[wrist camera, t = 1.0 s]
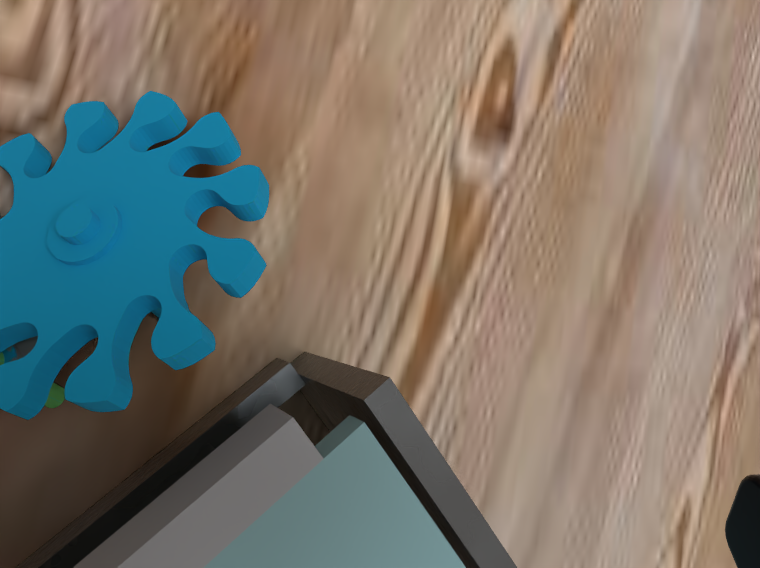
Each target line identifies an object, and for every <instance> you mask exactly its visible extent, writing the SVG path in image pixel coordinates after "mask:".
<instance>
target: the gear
mask: <svg viewBox="0 0 760 568" xmlns="http://www.w3.org/2000/svg"><path fill="white" fill-rule="evenodd" d="M64 120H65V124H66V127H67V138H66V143H65V146H64V149H63V151H62V153H61V155H60V157H59V159H58V160H57V162H56V164H55V165H54V167H53V168H52V170H51V171H50V172H48V173H47V174H46V172H47V171H48V169H49V167H50V165H51V162H52V157H51V154H50V153H49V151H48V150H47V149H46V148H45V147H44V146H43V145H42V144H41V143H40V142H39V141H38V140H37V139H36V138H35V137H34V136H33V135H31V134H30V133H28V134H24V135H21V136H19V137H17V138H14V139H12V140H11V141H9V142H7V143H5V144H4V145H2V146H0V166H1V167H2V168H3V169H4V170H6V171H7V172H8V173H9V174H10V175H11V177H12V180H13V184H14V201H13V206H12V208H11V210H10V211H9V212H8V213H7V214H6V215H5V216H4V217H3V218H1V219H0V409H2V410H4V411H6V412H9V413H11V414H14V415H16V416H19V417H21V418H24V419H26V420H29V419H31V418H33V417H34V416H35V415H37V414H38V413H39V412H40V411H41V409H42V408H43V407H44V406H46V407H48V408H56V407H58V406H59V405H61V404H62V402H63V401H64V399H66V400H68V401H70V402H72V403H74V404H76V405H78V406H80V407H83V408H85V409H87V410H90V411H95V412H112V411H119V410H125V408H126V407H127V406H128V404H129V402H130V400H131V398H132V393H133V384H132V381H131V378H130V374H129V353H130V349H131V345H132V342H133V339H134V337H135V334H136V332H137V330H138V328H139V326H140V324H141V322H142V320H143V318H144V317H145V316H146V315H147V314H148V313H150V312H152V313H153V314H154V315H156V316H157V317H158V318H159V321H158V323H157V325H156V327H155V329H154V332H153V335H152V339H151V346H152V350H153V352H154V354H155V355H156V356H157V357H158V358H159V359H161V360H162V361H163V362H165V363H166V364H168V365H169V366H170V367H172V368H173V369H174V370H179V369H183V368H186V367H188V366H190V365H193V364H195V363H196V362H198V361H200V360H201V359H203V358H204V357H206V356H207V355H209V354H210V353H211V352H213V351H214V350H215V345H216V343H215V337H214V335H213V333H212V332H211V331H210V330H209V329H208V328H207V327H206V326H205V325H204V324H203V323H202V322H201V321H200V320H199V319H198V318H197V317H196V316H194V315H193V314H191V312H190V311H189V309H188V304H187V302H186V301H185V296H184V288H183V275H184V273H185V271H186V269H187V268H188V267H189V266H190V265H191V264H192V263H194V262H196V261H198V260H201V259H207V262H208V269H209V273H210V274H211V276H212V277H213V279H214V280H215V281H216V282H217V283H218V284H219V285H220V287H221V288H222V289H223V290H224V291H225V292H226V293H227V294H229V295H230V296H233V297H239V298H242V297H243V296H244V295H245V294H246V293H248V292H249V291H250V290H251V288H252V287H253V286H254V285H255V284H256V282H257V281H258V279H259V278H260V276H261V274H262V273H263V271H264V269H265V267H266V266H267V265H266V263H265V261H264V260H263V258H262V257H261V255H260V254H259V252H258V251H257V249H256V248H255V247H254V245H253V244H252V243H251V242H249V241H247V240H245V239H240V238H234V239H227V238H219V237H216V236H212V235H209V234H207V233H205V232H204V231H202V230H201V229H199V228H198V227H197V222H198V219H199V217H200V215H201V214H202V213H203V212H204V211H205V210H207V209H209V208H211V207H214V206H223V207H226V208H227V209H229V210H230V211H231V212H232V213H233V214H234V215H235V216H236V217H237V218H239V219H241V220H243V221H256V220H259V219H261V218H263V217H264V215H265V213H266V211H267V207H268V202H269V184H268V182H267V180H266V179H265V177H264V175H263V173H262V171H261V170H260V168H259V167H257V166H253V165H243V166H240V167H237V168H235V169H233V170H231V171H229V172H227V173H224V174H221V175H218V176H214V177H209V178H190V177H184V176H183V175H184V173H185V172H186V171H187V170H188V169H189V168H190V167H192V166H194V165H197V164H210V165H218V166H221V165H226V164H229V163H231V162H233V161H235V160H236V159H237V158H239V156H240V155H241V149H240V146H239V143H238V141H237V140H236V138H235V136H234V134H233V133H232V131H231V129H230V127H229V126H228V124H227V122H226V121H225V119H224V118H223V117H222V115H221V114H220V113H219V112H214V113H210V114H207V115H206V116H204V117H202V118H201V119H200V120H198V122H197V123H196V124H195V125H194V126H193V127H192V128H191V129H190V130H189V131H188V132H187V133H186V134H184V135H183V136H181V137H180V138H178V139H177V140H175V141H173V142H171V143H169V144H167V145H164V146H162V147H159V148H156V149H152V150H149V151H147V149H148V148H149V147H150V146H152V145H154V144H156V143H158V142H161V141H165V140H168V139H171V138H173V137H175V136H177V135H178V134H179V133H181V132H182V131H183V129H184V128H185V126H186V124H187V120H186V118H185V116H184V115H183V113H182V112H181V110H180V109H179V107H178V106H177V104H176V103H175V102H174V101H173V100H172V99H171V98H169V97H168V96H166V95H163V94H160V93H157V92H153V91H150V92H148V93H146V94H145V95H143V96H142V97H141V98H140V99H139V101H138V102H137V104H136V106H135V110H134V113H133V115H132V117H131V119H130V121H129V122H128V124H127V125H126V127H125V128H124V129H123V130H122V131H121V132H120V134H119V135H117V136H116V137H115V138H114V139H113V140H112V141H110V140H111V139H112V138H113V137H114V135H115V134H116V132H117V130H118V127H119V123H118V120H117V119H116V117H115V116H114V115H113V114H112V112H111V111H110V110H109V109H108V107H107V106H106V105H105V104H104V102H98V101H90V102H82V103H77V104H73V105H71V106H70V107H69V108H68V110H67V112H66V114H65V117H64ZM108 141H110V142H109V143H108V144H107V145H105V146H104V147H103V148H101V147H102V146H103V145H104V144H106V143H107V142H108ZM99 148H101V149H100V150H98V149H99ZM97 150H98V151H97ZM45 174H46V175H45ZM96 337H98V344H97V347H96V349H95V350H94V352H93V353H92V354H91V355H90V356H89V357H88V358H87V359H86V360H85V361H84V362H83V363H81V364H80V365H79V366H78V367H77V368H76V369H75V370H74V371H73V372H72V373H71V375H70V376H69V378H68V380H67V382H66V385H65V389H64V388H63V387H61V386H59V385H57V384H55V383H53V382H54V380H55V378H56V376H57V375H58V373H59V371H60V370H61V368H62V367H63V366H64V365H65V363H66V362H67V361H68V360H69V359H70V358H71V357H72V356H73V355H74V354H75V353H76V352H77V351H78V350H79V349H81V348H82V347H83V346H84V345H85V344H86V343H88V342H89V341H90V340H92V339H94V338H96Z"/></svg>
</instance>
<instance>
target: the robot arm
mask: <svg viewBox="0 0 760 568" xmlns="http://www.w3.org/2000/svg"><path fill="white" fill-rule="evenodd" d="M725 533H726V539H727V543H728V546H729V548H730V551H731V553H732V555H733V558H734V560H735V563H736V565H737V567H738V568H760V475H749V476H746V477H745V478H744V479H743V480H742V481H741V483H740V485H739V488H738V491H737V493H736V496H735V499H734V501H733V504H732V507H731V510H730V512H729V515H728V518H727V521H726V526H725Z"/></svg>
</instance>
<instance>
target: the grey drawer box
mask: <svg viewBox="0 0 760 568" xmlns="http://www.w3.org/2000/svg"><path fill="white" fill-rule="evenodd" d="M298 390H300V391H301V392H302V393H303V395H304V396H305V398H306V399H307V400H308V402H309V403H310V405H311V406H312V407H313V409H314V410H315V411H316V413H317V414H318V416H319V417H320V418H321V420H322V421H323V422H324V424H325V425H326V427H327V428H328V429H329V431H330V432H331V431H332V430H333V429H334V428H336V427H337V426H338V425H339V424H340V423H341V422H342V421H343V420H345V419H346V418H347V417H348V416H349V415H351V416H353V417H355V418H357V419H359V420H361V421H363V422H365V424H366V425H367V427H368V428H369V429H370V431H371V432H372V434H373V435H374V437H375V438H376V440H377V441H378V442H379V444H380V445H381V447H382V448H383V450H384V451H385V452H386V454H387V455H388V457H389V458H390V460H391V461H392V462H393V464H394V465H395V467H396V468H397V470H398V471H399V472H400V474H401V475H402V477H403V478H404V480H405V481H406V482H407V484H408V485H409V487H410V488H411V490H412V491H413V493H414V494H415V495H416V497H417V498H418V500H419V501H420V503H421V504H422V505H423V507H424V508H425V510H426V511H427V513H428V514H429V515H430V517H431V518H432V520H433V521H434V523H435V524H436V525H437V527H438V528H439V530H440V531H441V533H442V534H443V535H444V537H445V538H446V540H447V541H448V543H449V544H450V546H451V547H452V548H453V550H454V551H455V553H456V554H457V556H458V557H459V558H460V560H461V561H462V563H463V564H464V566H465V567H466V568H517V567H516V565H515V564H514V562H513V561H512V559H511V558H510V556H509V555H508V553H507V552H506V550H505V549H504V547H503V546H502V544H501V543H500V541H499V540H498V538H497V537H496V535H495V534H494V532H493V531H492V529H491V528H490V526H489V525H488V523H487V522H486V520H485V519H484V517H483V516H482V514H481V513H480V511H479V510H478V508H477V507H476V505H475V504H474V502H473V501H472V499H471V498H470V496H469V495H468V493H467V492H466V490H465V489H464V487H463V486H462V484H461V483H460V481H459V480H458V478H457V477H456V476H455V474H454V473H453V471H452V470H451V468H450V467H449V465H448V464H447V462H446V461H445V459H444V458H443V456H442V455H441V453H440V452H439V450H438V449H437V447H436V446H435V444H434V443H433V441H432V440H431V438H430V437H429V435H428V434H427V432H426V431H425V429H424V428H423V426H422V425H421V423H420V422H419V420H418V419H417V417H416V416H415V414H414V413H413V411H412V410H411V408H410V407H409V405H408V404H407V402H406V401H405V399H404V398H403V396H402V395H401V393H400V392H399V390H398V389H397V387H396V386H395V384H394V383H393V381H392V380H391V378H390V377H387V376H383V375H380V374H377V373H373V372H370V371H367V370H363V369H360V368H357V367H354V366H350V365H347V364H344V363H340V362H337V361H334V360H330V359H327V358H324V357H320V356H317V355H314V354H310V353H307V352H304V353H303V354H301V355H300V356H299V357H298V358H297V359H295V360H294V361H293V362H292V363H289V362H286V361H283V360H281V359H278V358H276V359H275V360H274V361H273V362H271V363H270V364H269V365H268V366H266V367H265V368H264V369H263V370H261V371H260V372H259V373H258V374H256V375H255V376H254V377H253V378H251V379H250V380H249V381H248V382H246V383H245V384H244V385H243V386H241V387H240V388H239V389H238V390H236V391H235V392H234V393H233V394H231V395H230V396H229V397H228V398H226V399H225V400H224V401H223V402H221V403H220V404H219V405H218V406H216V407H215V408H214V409H213V410H212V411H210V412H209V413H208V414H207V415H205V416H204V417H203V418H202V419H200V420H199V421H198V422H197V423H195V424H194V425H193V426H192V427H190V428H189V429H188V430H187V431H185V432H184V433H183V434H182V435H180V436H179V437H178V438H177V439H175V440H174V441H173V442H172V443H170V444H169V445H168V446H167V447H165V448H164V449H163V450H162V451H160V452H159V453H158V454H157V455H155V456H154V457H153V458H152V459H150V460H149V461H148V462H147V463H145V464H144V465H143V466H142V467H140V468H139V469H138V470H137V471H135V472H134V473H133V474H132V475H130V476H129V477H128V478H127V479H125V480H124V481H123V482H122V483H120V484H119V485H118V486H117V487H116V488H114V489H113V490H112V491H111V492H109V493H108V494H107V495H106V496H104V497H103V498H102V499H101V500H99V501H98V502H97V503H96V504H94V505H93V506H92V507H91V508H89V509H88V510H87V511H86V512H84V513H83V514H82V515H81V516H79V517H78V518H77V519H76V520H74V521H73V522H72V523H71V524H69V525H68V526H67V527H66V528H64V529H63V530H62V531H61V532H59V533H58V534H57V535H56V536H54V537H53V538H52V539H51V540H49V541H48V542H47V543H46V544H44V545H43V546H42V547H41V548H39V549H38V550H37V551H36V552H34V553H33V554H32V555H31V556H29V557H28V558H27V559H26V560H25V561H23V562H22V563H21V564H20V565H18V566H17V567H16V568H73V567H74V566H75V565H77V564H78V563H79V562H80V561H81V560H83V559H84V558H85V557H86V556H87V555H89V554H90V553H91V552H92V551H93V550H95V549H96V548H97V547H98V546H99V545H101V544H102V543H103V542H104V541H105V540H107V539H108V538H109V537H110V536H111V535H113V534H114V533H115V532H116V531H117V530H119V529H120V528H121V527H122V526H123V525H125V524H126V523H127V522H128V521H129V520H131V519H132V518H133V517H134V516H135V515H137V514H138V513H139V512H140V511H142V510H143V509H144V508H145V507H146V506H148V505H149V504H150V503H151V502H152V501H154V500H155V499H156V498H157V497H158V496H160V495H161V494H162V493H163V492H164V491H166V490H167V489H168V488H169V487H170V486H172V485H173V484H174V483H175V482H176V481H178V480H179V479H180V478H181V477H182V476H184V475H185V474H186V473H187V472H188V471H190V470H191V469H192V468H193V467H194V466H196V465H197V464H198V463H199V462H201V461H202V460H203V459H204V458H205V457H207V456H208V455H209V454H210V453H211V452H213V451H214V450H215V449H216V448H217V447H219V446H220V445H221V444H222V443H223V442H225V441H226V440H227V439H228V438H229V437H231V436H232V435H233V434H234V433H235V432H237V431H238V430H239V429H240V428H241V427H243V426H244V425H245V424H246V423H247V422H249V421H250V420H251V419H252V418H253V417H255V416H256V415H257V414H258V413H259V412H261V411H262V410H263V409H264V408H266V407H267V406H268V405H269V404H272V405H274V406H275V407H277V408H278V407H279V406H281V405H282V404H283V403H284V402H285V401H287V400H288V399H289V398H290V397H291V396H292V395H294V394H295V393H296V392H297V391H298Z"/></svg>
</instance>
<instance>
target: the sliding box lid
mask: <svg viewBox="0 0 760 568" xmlns="http://www.w3.org/2000/svg"><path fill="white" fill-rule="evenodd" d="M73 568H466V567H465V566H464V564H463V563H462V561H461V560H460V558H459V557H458V556H457V554H456V553H455V551H454V550H453V548H452V547H451V546H450V544H449V543H448V541H447V540H446V538H445V537H444V535H443V534H442V533H441V531H440V530H439V528H438V527H437V525H436V524H435V523H434V521H433V520H432V518H431V517H430V515H429V514H428V513H427V511H426V510H425V508H424V507H423V505H422V504H421V503H420V501H419V500H418V498H417V497H416V495H415V494H414V493H413V491H412V490H411V488H410V487H409V485H408V484H407V482H406V481H405V480H404V478H403V477H402V475H401V474H400V472H399V471H398V470H397V468H396V467H395V465H394V464H393V462H392V461H391V460H390V458H389V457H388V455H387V454H386V452H385V451H384V450H383V448H382V447H381V445H380V444H379V442H378V441H377V440H376V438H375V437H374V435H373V434H372V432H371V431H370V429H369V428H368V427H367V425H366V424H365V422H363V421H361V420H359V419H357V418H355V417H353V416H351V415H349V416H348V417H347V418H346V419H345V420H343V421H342V422H341V423H340V424H339V425H338V426H337V427H336V428H334V429H333V430H332V431H331V432H330V433H329V434H328V435H327V436H325V437H324V438H323V439H322V440H321V441H320V442H319V443H318V444H316V445H315V446H314V445H313V443H312V442H311V441H310V439H309V438H308V437H307V435H306V434H305V433H304V431H303V430H302V429H301V427H300V426H299V424H298V423H297V422H296V420H295V419H294V418H293V417H292V416H290V415H289V414H287V413H285V412H284V411H282V410H280V409H279V408H277V407H275V406H274V405H272V404H269V405H268V406H267V407H266V408H264V409H263V410H262V411H261V412H259V413H258V414H257V415H256V416H255V417H253V418H252V419H251V420H250V421H249V422H247V423H246V424H245V425H244V426H243V427H241V428H240V429H239V430H238V431H237V432H235V433H234V434H233V435H232V436H231V437H229V438H228V439H227V440H226V441H225V442H223V443H222V444H221V445H220V446H219V447H217V448H216V449H215V450H214V451H213V452H211V453H210V454H209V455H208V456H207V457H205V458H204V459H203V460H202V461H201V462H199V463H198V464H197V465H196V466H194V467H193V468H192V469H191V470H190V471H188V472H187V473H186V474H185V475H184V476H182V477H181V478H180V479H179V480H178V481H176V482H175V483H174V484H173V485H172V486H170V487H169V488H168V489H167V490H166V491H164V492H163V493H162V494H161V495H160V496H158V497H157V498H156V499H155V500H154V501H152V502H151V503H150V504H149V505H148V506H146V507H145V508H144V509H143V510H142V511H140V512H139V513H138V514H137V515H135V516H134V517H133V518H132V519H131V520H129V521H128V522H127V523H126V524H125V525H123V526H122V527H121V528H120V529H119V530H117V531H116V532H115V533H114V534H113V535H111V536H110V537H109V538H108V539H107V540H105V541H104V542H103V543H102V544H101V545H99V546H98V547H97V548H96V549H95V550H93V551H92V552H91V553H90V554H89V555H87V556H86V557H85V558H84V559H83V560H81V561H80V562H79V563H78V564H77V565H75V566H74V567H73Z"/></svg>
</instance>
